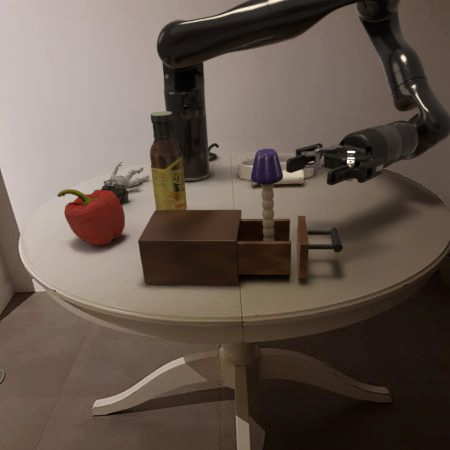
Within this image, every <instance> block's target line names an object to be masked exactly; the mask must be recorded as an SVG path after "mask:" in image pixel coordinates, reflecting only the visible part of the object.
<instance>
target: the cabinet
mask: <svg viewBox="0 0 450 450" xmlns="http://www.w3.org/2000/svg"><path fill="white" fill-rule="evenodd" d="M242 216H243V211H242V209H186V210H156V209H155V210H154V211H153V213H152V215H151V216H150V218H149V220H148V222H147V224H146V225H145V227H144V229H143V230H142V232H141V234H140V236H139V238H138V240H137V243H138V250H139V257H140V262H141V268H142V274H143V281H144V285H153V286H155V285H157V286H158V285H159V286H160V285H163V286H164V285H168V286H169V285H171V286H239V280H240V274H238V262H237V239H238V233H239V227H240V220H241V219H243V217H242Z"/></svg>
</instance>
